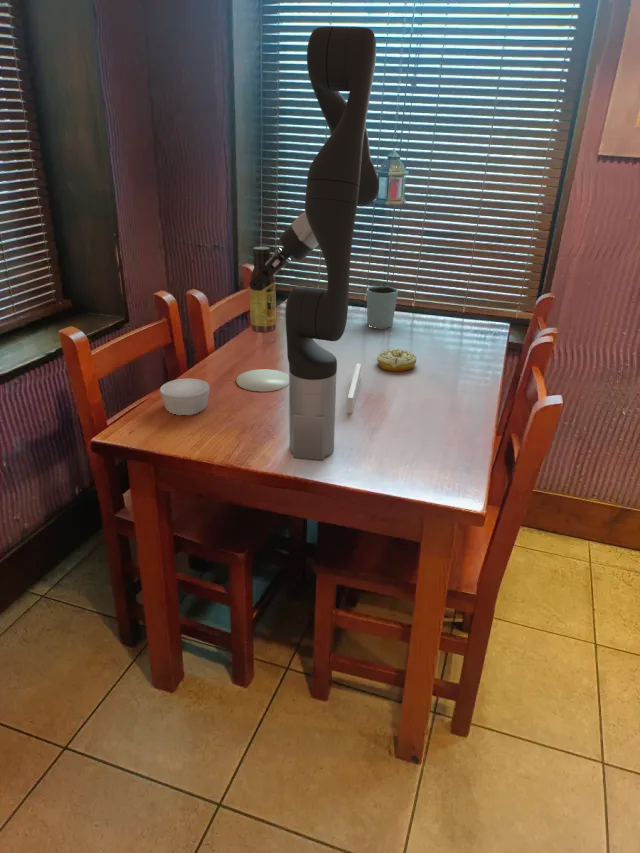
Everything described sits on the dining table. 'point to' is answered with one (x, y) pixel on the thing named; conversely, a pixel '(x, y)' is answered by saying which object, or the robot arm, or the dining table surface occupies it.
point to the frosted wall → (354, 388)
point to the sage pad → (263, 380)
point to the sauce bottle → (262, 295)
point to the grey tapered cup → (381, 306)
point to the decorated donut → (396, 360)
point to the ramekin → (185, 396)
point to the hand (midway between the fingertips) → (255, 283)
